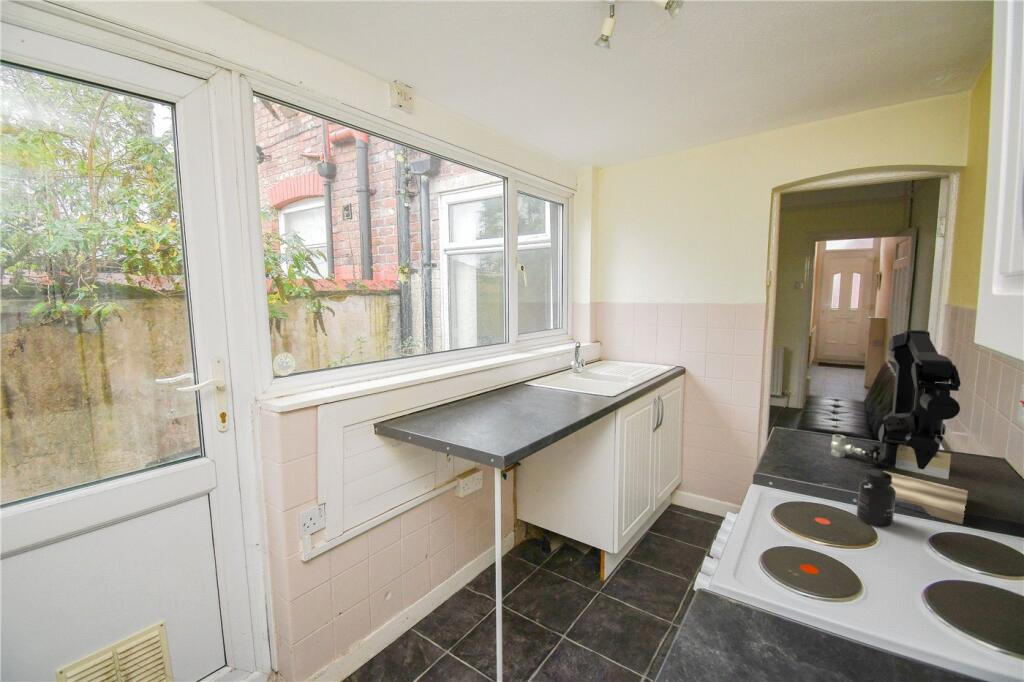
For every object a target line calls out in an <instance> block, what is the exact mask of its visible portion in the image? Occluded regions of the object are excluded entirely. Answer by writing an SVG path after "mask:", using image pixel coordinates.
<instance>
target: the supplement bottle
mask: <svg viewBox="0 0 1024 682" xmlns="http://www.w3.org/2000/svg"><path fill="white" fill-rule="evenodd" d="M864 478H865V479H864V480H862V481H861V482H859V485H858V486H859V487H858V494H857V496H858V497H857V507H856V516H857V518H858V519H859V521H862V522H863V523H865V524H867V525H870V526H874V527H878V528H889V527H891V526H892V525H893V523H894V515H895V497H896V491H895V489H894V488H893V487H892V486H891V484H892V476H891V475H890V474H888V473H885V472H883V471H882V470H878V469H867V470H866V471H865V476H864Z"/></svg>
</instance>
